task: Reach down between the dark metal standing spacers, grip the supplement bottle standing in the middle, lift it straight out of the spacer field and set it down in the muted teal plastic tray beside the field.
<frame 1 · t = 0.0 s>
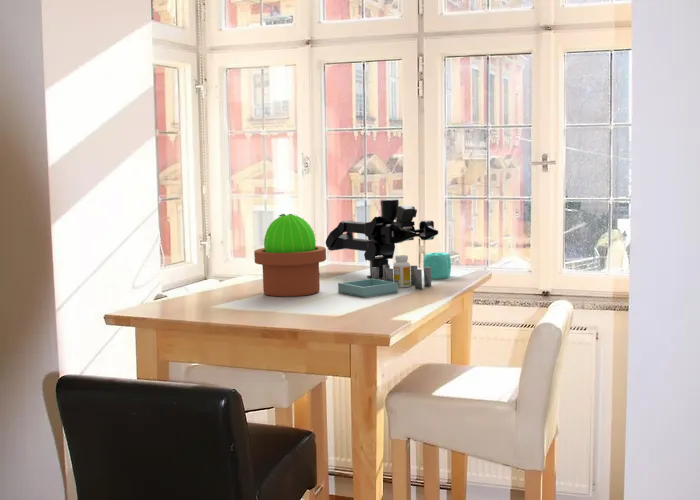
hand: (426, 233, 282), 17 cm above the table, tool horizontal, fingers open, 9 cm apart
teal tray: (367, 292, 272), on the table
decorative dice: (437, 277, 301), on the table
supplement bottle: (402, 286, 283), on the table
spacer field: (402, 286, 283), on the table
potted cactus: (291, 293, 277), on the table
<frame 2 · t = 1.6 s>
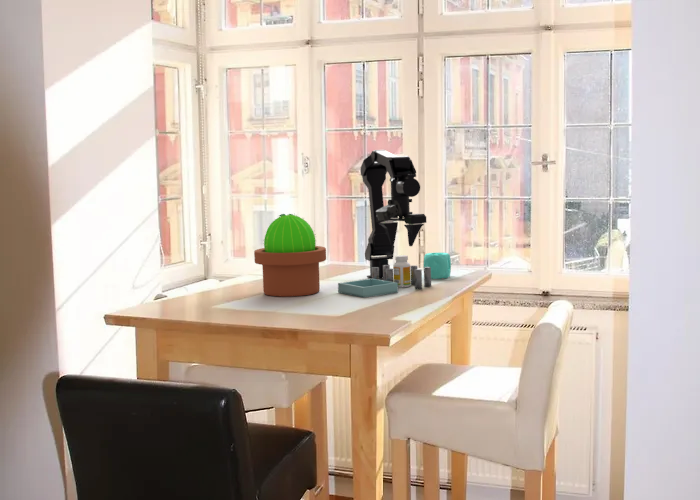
hand: (401, 245, 281), 13 cm above the table, tool pointing down, fingers open, 9 cm apart
nothing on the table moved.
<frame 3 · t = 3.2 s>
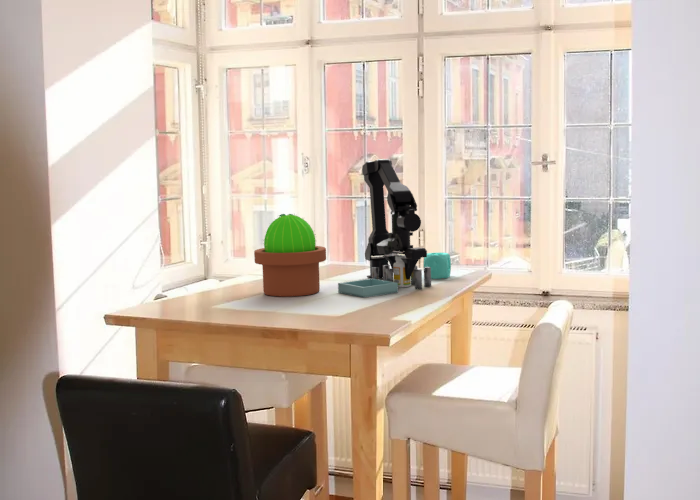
hand: (402, 278, 283), 3 cm above the table, tool pointing down, fingers closed on supplement bottle, 5 cm apart
supplement bottle: (402, 286, 283), on the table, touching gripper
everything else where it was.
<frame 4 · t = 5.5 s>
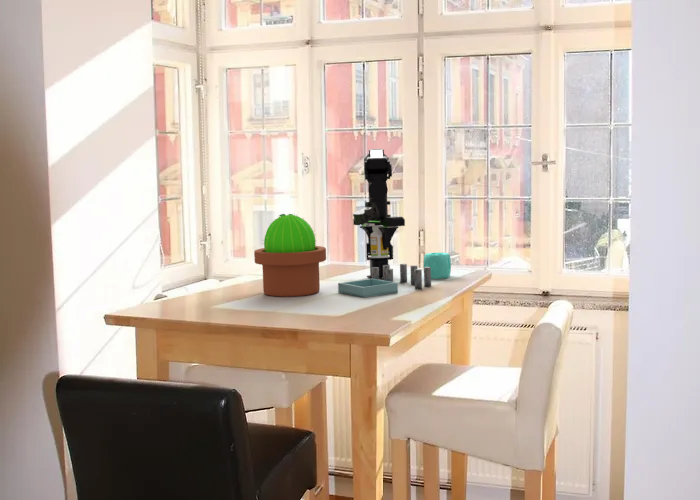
hand: (379, 249, 274), 13 cm above the table, tool pointing down, fingers closed on supplement bottle, 5 cm apart
supplement bottle: (379, 257, 274), point 10 cm above the table, touching gripper
everything else where it was.
when the fingers open (4 cm above the table, at t = 7.8 s): supplement bottle drops 1 cm, resting on teal tray.
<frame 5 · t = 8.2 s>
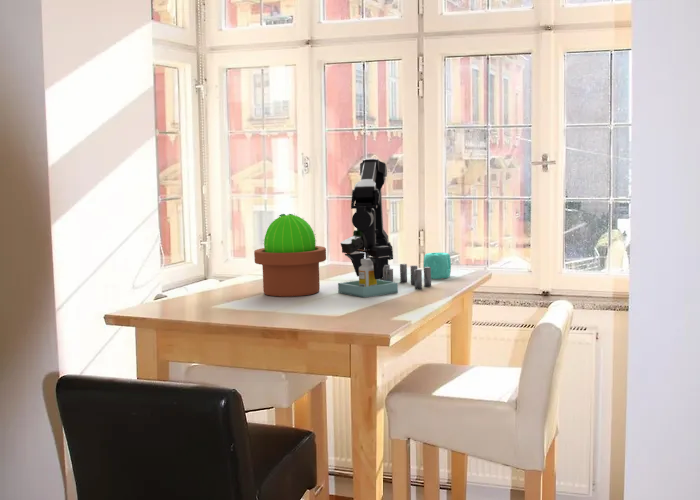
hand: (367, 277, 271), 5 cm above the table, tool pointing down, fingers open, 9 cm apart
supplement bottle: (368, 291, 272), resting on teal tray
everything else where it was.
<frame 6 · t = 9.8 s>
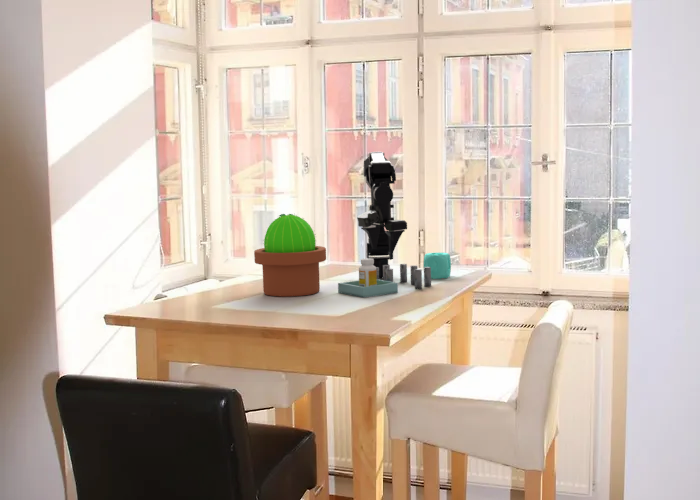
hand: (382, 250, 283), 11 cm above the table, tool pointing down, fingers open, 9 cm apart
nothing on the table moved.
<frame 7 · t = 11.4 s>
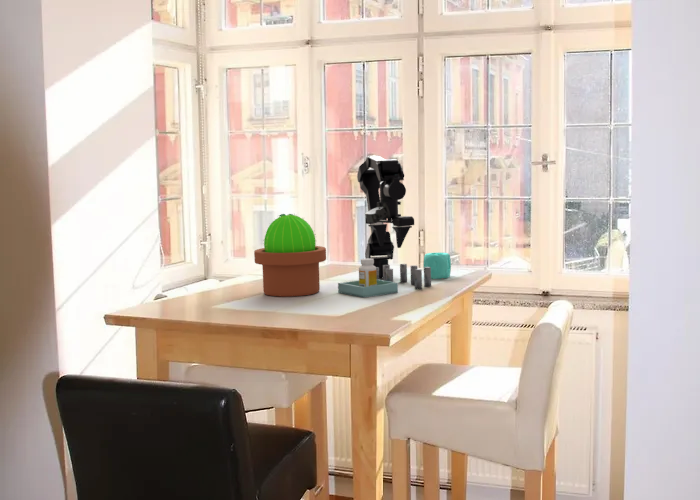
hand: (390, 246, 288), 12 cm above the table, tool pointing down, fingers open, 9 cm apart
nothing on the table moved.
at the end: supplement bottle inside the target area on the teal tray (0.1 cm from its centre), point 0.4 cm above the teal tray's base; supplement bottle tilted 0°; the gripper is holding nothing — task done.
